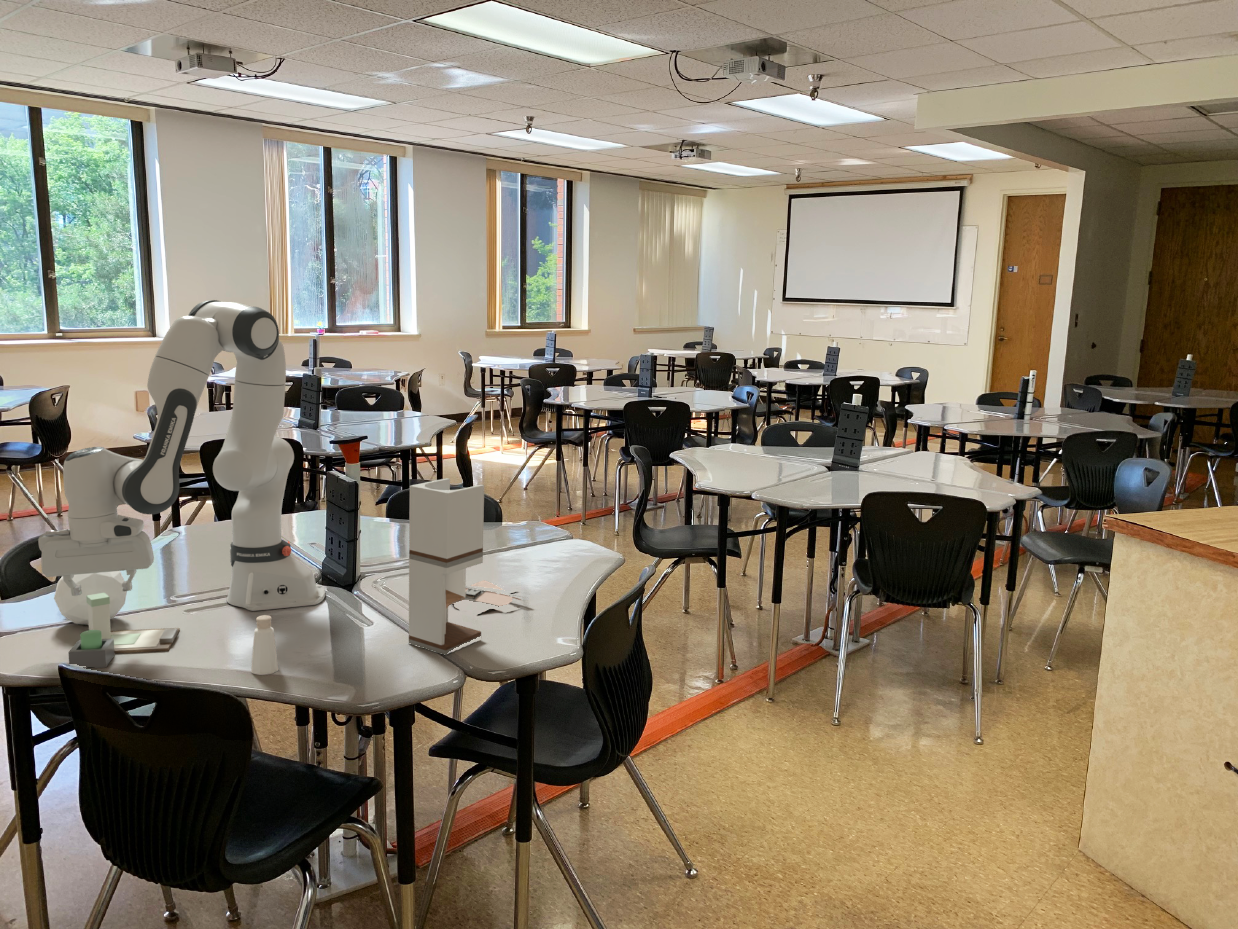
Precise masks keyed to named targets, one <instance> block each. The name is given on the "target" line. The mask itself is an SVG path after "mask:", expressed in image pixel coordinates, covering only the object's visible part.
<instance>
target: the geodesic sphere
mask: <svg viewBox="0 0 1238 929" xmlns="http://www.w3.org/2000/svg"><path fill="white" fill-rule="evenodd" d="M60 577H61V578H60V579H59V580H58V581H57V584H56V588H55V592H54V597H53V599H54V602H55V604H56V606H57V608H58V610H59V612H60V614H61V616H63V617H64V618H66V619H68V620H69V621H70V622H72V623H74V624H75V625H85V626H86V625H87V626H89V621H88V604H87V598H86V596H87V595H93V594H99V593H106V594H107V595H108V596H109V597H110V604H109V610H110V620H111V619H114V618H116V615H118V613H119V612H120V611H121V609H122V608H124V605H125V604H126V598H127V592H128V591H123V587H122V583H123V582H124V581H125V578H124V576H123V574H122V571H112V572H101V573H89V574H77V575H74V577H73V578H72V580H73V581H74V582H75V584H76V585H81V590H82V594H81V595H77V596H72V594H71V588H70V587H69V586H68V585H67V584H66V583H65V582H64V581H63V576H60Z"/></svg>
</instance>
